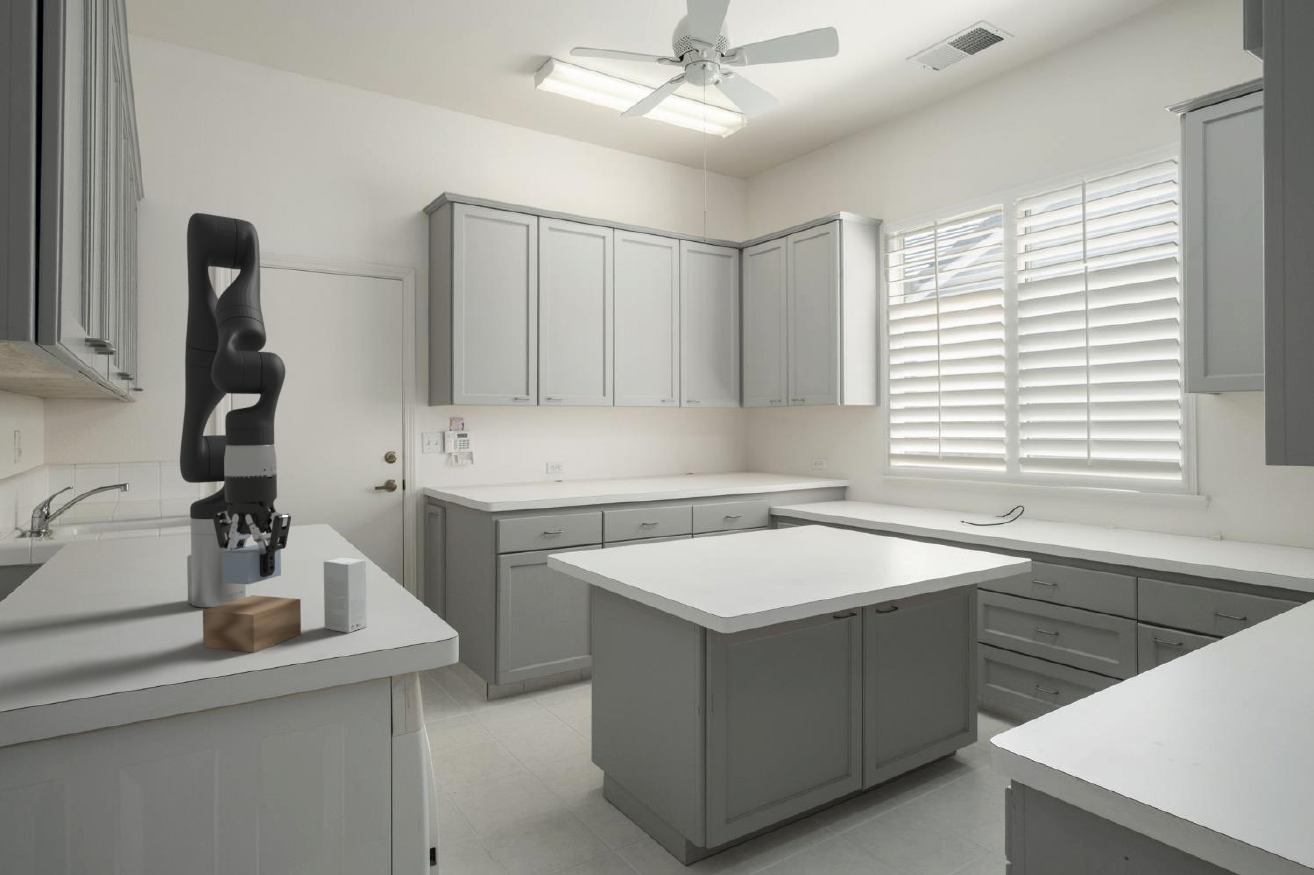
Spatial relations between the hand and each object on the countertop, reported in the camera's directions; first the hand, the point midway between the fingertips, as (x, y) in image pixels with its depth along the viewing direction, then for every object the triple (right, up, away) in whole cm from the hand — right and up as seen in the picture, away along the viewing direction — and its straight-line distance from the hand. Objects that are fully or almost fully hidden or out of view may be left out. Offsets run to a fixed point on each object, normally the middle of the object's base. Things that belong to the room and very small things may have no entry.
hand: (252, 574), depth 120 cm
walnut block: (0, -11, 0) cm, 11 cm away
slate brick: (0, -1, 0) cm, 1 cm away
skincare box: (+12, -11, +7) cm, 18 cm away
